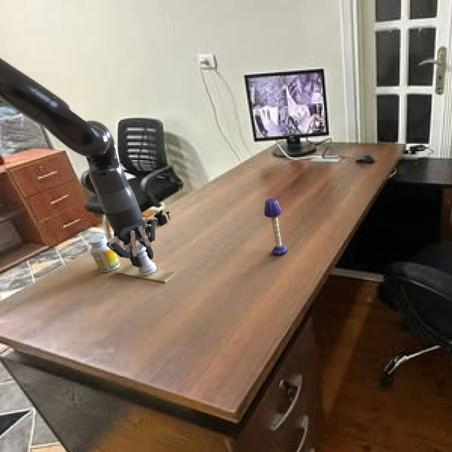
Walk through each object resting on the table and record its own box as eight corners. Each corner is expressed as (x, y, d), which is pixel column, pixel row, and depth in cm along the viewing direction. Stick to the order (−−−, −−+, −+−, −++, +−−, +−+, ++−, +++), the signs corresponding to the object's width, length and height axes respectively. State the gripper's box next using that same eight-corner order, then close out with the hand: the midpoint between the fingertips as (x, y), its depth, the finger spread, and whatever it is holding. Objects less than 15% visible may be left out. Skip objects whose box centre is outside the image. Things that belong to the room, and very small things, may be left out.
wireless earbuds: (157, 229, 120) (152, 216, 117) (152, 228, 121) (147, 215, 118) (173, 219, 125) (168, 207, 123) (168, 219, 126) (163, 206, 124)
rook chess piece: (146, 278, 93) (135, 253, 89) (136, 274, 95) (125, 249, 91) (160, 268, 97) (150, 244, 93) (150, 265, 99) (140, 241, 95)
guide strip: (115, 273, 98) (115, 271, 98) (127, 265, 101) (126, 263, 101) (165, 283, 92) (164, 281, 92) (176, 274, 95) (175, 272, 95)
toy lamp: (291, 250, 101) (282, 197, 93) (281, 258, 98) (271, 205, 89) (279, 246, 103) (269, 195, 95) (268, 254, 100) (257, 202, 92)
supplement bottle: (99, 275, 98) (84, 246, 94) (101, 265, 103) (86, 237, 98) (120, 268, 100) (106, 240, 95) (121, 259, 104) (108, 232, 100)
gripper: (131, 192, 93) (153, 246, 101) (83, 217, 82) (112, 276, 90) (153, 194, 90) (173, 249, 99) (106, 219, 79) (134, 280, 87)
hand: (144, 262), depth 94 cm, fingers closed on rook chess piece, 3 cm apart
